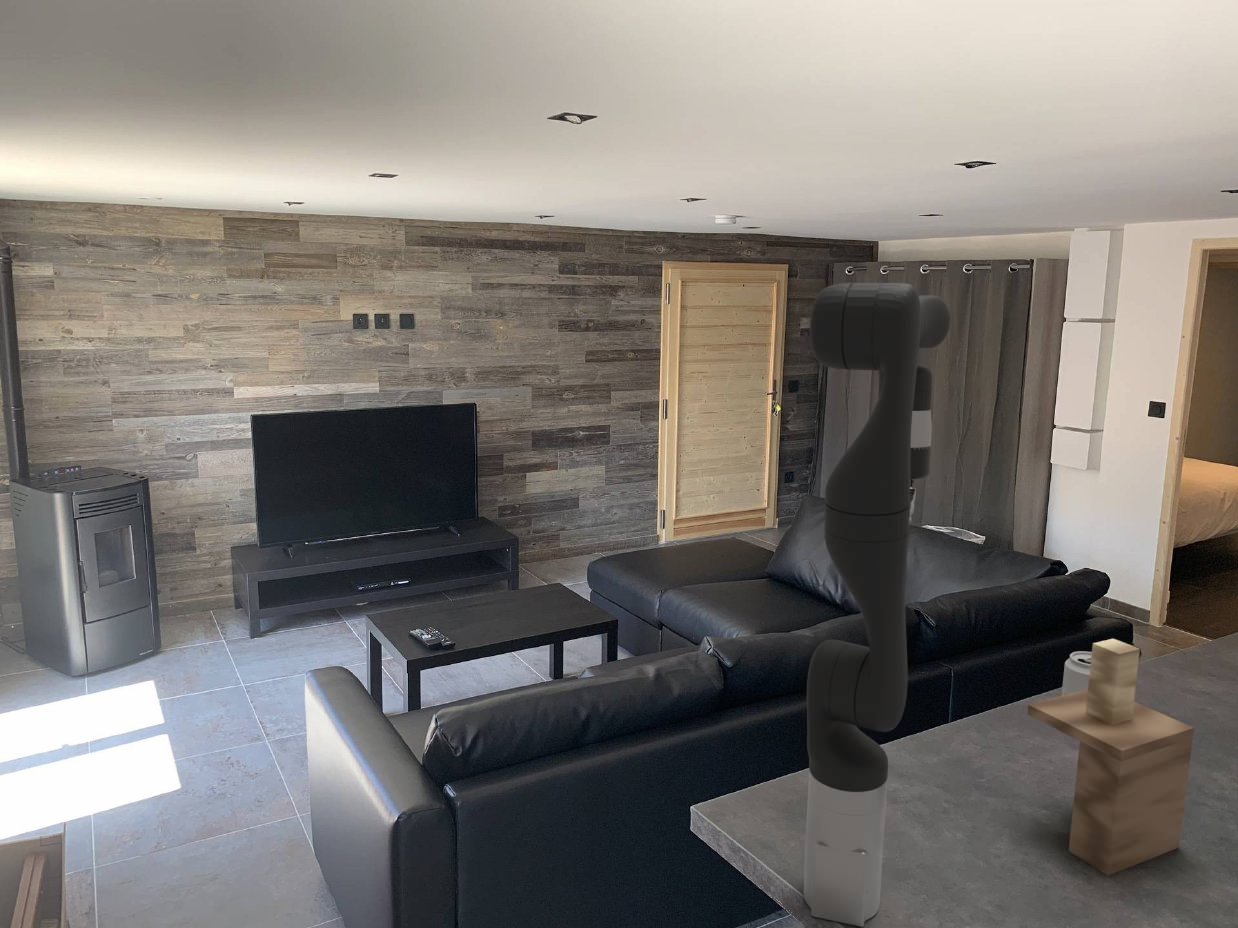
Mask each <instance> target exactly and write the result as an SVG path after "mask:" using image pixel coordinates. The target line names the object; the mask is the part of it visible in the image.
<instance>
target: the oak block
mask: <svg viewBox="0 0 1238 928" xmlns="http://www.w3.org/2000/svg"><path fill="white" fill-rule="evenodd" d="M1091 648H1092V649H1091V652H1092V656H1091V665H1090V675H1089V684H1088V694H1087V703H1086V713H1087V714H1089V715H1091V716H1093V717H1096V718H1098V719H1100V720H1102V721H1104V722H1106V723H1108V724H1110V725H1113V724H1117V723H1120V722H1124V721H1127V720H1130V719H1132V714H1133V705H1134V702H1135V696H1136V695H1135V694H1136V688H1137V687H1136V686H1137V678H1138V668H1139V660H1140V650H1141V648H1139V647H1136V646H1134V645H1132V644H1128V643H1126V642H1123V641H1121V640H1118V639H1115V638H1110V639H1107V640H1101V641H1097V642H1093V643H1092V647H1091Z"/></svg>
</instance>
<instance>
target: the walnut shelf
mask: <svg viewBox="0 0 1238 928" xmlns="http://www.w3.org/2000/svg"><path fill="white" fill-rule="evenodd" d="M1087 694H1088V689H1084V690H1080V691H1077V692H1073V693H1069V694H1065V695H1062V694H1061V695H1058V696H1055V697H1051V698H1047V699H1044V700H1040V701H1036V702H1033V703H1029V704H1028V705H1027V706H1028V707H1027V715H1028V716H1029V717H1031V718H1034V719H1036V720H1038V721H1040V722H1041V723H1043V724H1045V725H1047V726H1049V727H1051V728H1053V729H1056V730H1057V731H1059V732H1061V733H1063V734H1065V735H1067V736H1070V738H1073V739H1075V740H1077V741H1079V747H1078V757H1077V767H1076V774H1075V775H1076V776H1075V785H1074V795H1073V805H1072V816H1071V824H1070V835H1069V843H1068V852H1070V853H1071V854H1073V855H1074V856H1076V857H1078V858H1079V859H1081V860H1083V861H1084V862H1086V863H1088V865H1090V866H1092V867H1093V868H1095V869H1097V870H1098V871H1100V872H1101V873H1103V874H1105V875H1106V876H1111V875H1114V874H1115V873H1119V872H1121V871H1123V870H1126V869H1128V868H1130V867H1131V868H1132V867H1133V866H1136V865H1139V864H1141V863H1143V862H1146V861H1149V860H1151V859H1153V858H1156V857H1159V856H1161V855H1163V854H1166V853H1169V852H1171V851H1174V850H1176V849H1179V847H1180V839H1181V833H1182V824H1183V818H1184V816H1183V815H1184V809H1185V803H1186V802H1185V801H1186V794H1187V785H1188V779H1189V771H1190V762H1191V755H1192V748H1193V747H1192V746H1193V741H1194V734H1195V733H1194V731H1195V727H1194V726H1191V725H1189V724H1186V723H1184V722H1182V721H1179V720H1178V719H1175V718H1173V717H1170V716H1168V715H1166V714H1164V713H1162V712H1159V711H1157V710H1154V709H1152V708H1149V707H1148V706H1145V705H1142V704H1141V703H1138V702H1136V701H1134V705H1133V714H1132V719H1130V720H1127V721H1124V722H1120V723H1117V724H1113V725H1110V724H1108V723H1106V722H1104V721H1102V720H1100V719H1098V718H1096V717H1093V716H1091V715H1089V714H1087V713H1086V703H1087Z"/></svg>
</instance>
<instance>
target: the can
mask: <svg viewBox="0 0 1238 928" xmlns="http://www.w3.org/2000/svg"><path fill="white" fill-rule="evenodd" d="M1091 656H1092V651H1081V650H1080V651H1079V650H1078V651H1073V652H1072V653H1070V654H1069V658H1068V659H1066V661H1065V662H1064V670H1063V679H1062V688H1061V696H1062V695H1065V694H1069V693H1073V692H1077V691H1080V690H1084V689H1088V684H1089V675H1090V665H1091Z"/></svg>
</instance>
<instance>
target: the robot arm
mask: <svg viewBox="0 0 1238 928" xmlns="http://www.w3.org/2000/svg"><path fill="white" fill-rule="evenodd" d="M950 314H951V312H950V310H949V307H948V304H947V303H946V302H945V301H944V300H943V298H941V297H939V296H938V295H932V294H931V295H929V294H927V295H926V294H923V295H920V294H918V290H917V289H916V288H915V286H913V285H912V284H910V283H905V282H845V283H844V282H843V283H836V284H831V285H828V286H826V287H824V288H823V289H822V290H821V291H820V292H819V293H818V294H817V296H816V298H815V300H814V302H813V304H812V306H811V311H810V317H809V342H810V347H811V350H812V353H813V356H814V357H815V359H816V360H817V361H818V362H819V364H821V365H823V366H826V368H827V367H828V368H832V369H836V370H847V371H848V370H849V371H851V370H854V371H877V374H878V395H877V397H878V398H877V402H876V404H875V405H874V406H875V407H874V408H873V411H872V413H871V414H870V416H869V418H868V420H867V422H866V423H865V425H864V426H863V428H862V429H861V431H860V433H859V434H858V436H856V438H855V440H854V441H853V442H852V443H851V445H850V446H849V447H848V449H847V450H846V452H845V453H844V455H842V456H841V458H840V460H839V461H838V462H837V465H836V466H835V467H834V468H833V470H832V472H831V474H830V476H829V477H828V480H827V483H826V486H825V491H824V541H825V545H826V550H827V552H828V555H829V557H830V559H831V561H832V563H833V565H834V566H835V569H836V570H837V572H838V574H839V575H840V577H841V579H842V580H843V582H844V584H845V586H846V587H847V589H848V591H849V593H851V595H852V597H853V599H854V601H855V603H856V605H857V607H858V608H859V611H860V613H861V616H862V619H863V621H864V625H865V629H866V635H867V641H868V646H865V645H861V644H856V643H854V642H853V643H852V642H848V641H844V640H839V639H826V640H823V641H822V642H821V643H819V645H818V646H817V647H816V648H815V650H814V652H813V654H812V656H811V658H810V663H809V666H808V671H807V681H806V714H807V715H806V718H807V719H806V724H807V725H806V726H807V727H806V728H807V729H806V730H807V731H806V732H807V736H806V738H807V739H806V746H807V747H806V749H807V750H806V751H807V753H808V754H807V755H808V758H809V761H808V783H807V784H808V787H807V806H806V826H805V827H806V829H805V848H804V850H805V851H804V872H803V873H804V875H803V898H804V900H805V903H806V905H807V906H808V907H809V908H810V910H811V911H810V913H811V914H810V915H811V916H812V917H814V918H818V919H823V920H829V921H833V922H839V923H843V924H846V925H852V926H857V927H864V926H865V923H866V921H867V920H869V919H871V918H873V917H874V916H875V915H876V914H877V913H878V911H879V909H880V903H881V901H880V900H881V888H882V887H881V886H882V871H883V870H882V868H883V853H884V852H883V851H884V838H885V823H886V822H885V820H886V819H885V818H886V802H887V793H888V792H887V791H888V789H887V788H888V777H889V776H888V774H889V773H888V772H889V758H888V755H887V753H886V751H885V750H884V749H883V747H882V746H881V745H880V744H878V742H876V741H875V740H873V739H872V738H871V737H869V736H868V735H867V734H865V732H863V731H861V730H860V729H859V728H863V729H866V730H871V731H876V732H883V733H885V732H891V731H893V730H894V729H895V728H896V727H897V726H898V725H899V723H900V721H901V719H902V717H903V714H904V711H905V707H906V703H907V702H906V701H907V696H908V648H907V647H908V646H907V628H906V625H907V624H906V583H907V581H906V580H907V568H908V567H907V563H908V552H909V551H908V549H909V540H910V539H909V538H910V537H909V536H910V525H911V522H912V515H913V514H914V510H915V501H916V494H917V488H915V487H914V483H915V480H920V479H924V478H928V477H929V475H930V469H931V454H932V453H931V451H932V449H931V448H932V433H933V432H932V428H933V427H932V425H933V424H932V416H931V415H932V413H931V412H932V411H931V410H932V409H931V408H932V392H933V391H932V390H933V374H932V372H931V370H930V369H929V368H927V367H924V366H921V365H918V363H919V362H918V361H919V351H920V350H919V349H933V348H936V347H938V346H939V345H941V344H942V343H943V341H944V340H945V339H946V337H947V335H948V333H949V330H950V327H951V315H950ZM858 727H859V728H858Z"/></svg>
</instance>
